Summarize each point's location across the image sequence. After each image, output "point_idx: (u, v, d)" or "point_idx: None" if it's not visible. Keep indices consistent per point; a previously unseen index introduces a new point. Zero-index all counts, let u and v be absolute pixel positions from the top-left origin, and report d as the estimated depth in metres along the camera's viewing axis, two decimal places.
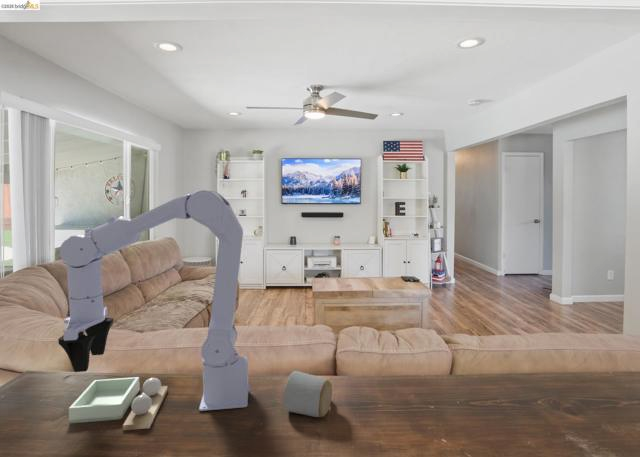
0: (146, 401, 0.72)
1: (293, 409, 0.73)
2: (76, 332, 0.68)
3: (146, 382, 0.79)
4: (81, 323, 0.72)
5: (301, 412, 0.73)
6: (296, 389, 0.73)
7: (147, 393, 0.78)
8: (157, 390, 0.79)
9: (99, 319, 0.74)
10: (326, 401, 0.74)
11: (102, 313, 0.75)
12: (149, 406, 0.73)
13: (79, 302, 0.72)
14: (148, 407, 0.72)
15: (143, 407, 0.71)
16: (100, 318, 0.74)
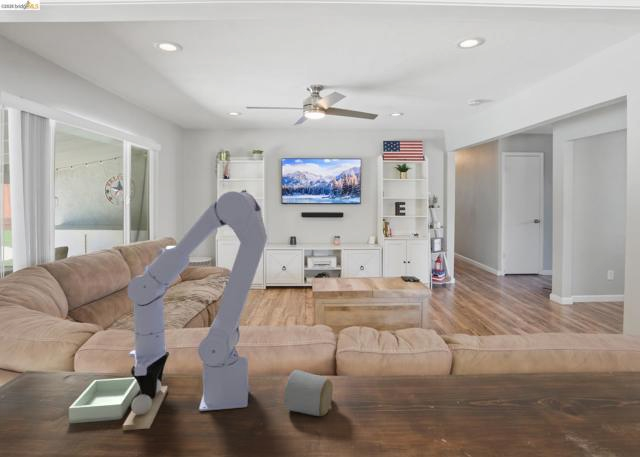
0: (146, 401, 0.72)
1: (294, 408, 0.73)
2: (145, 368, 0.73)
3: None
4: (147, 357, 0.76)
5: (302, 411, 0.73)
6: (297, 388, 0.73)
7: None
8: (157, 390, 0.79)
9: (162, 353, 0.78)
10: (327, 400, 0.74)
11: (164, 347, 0.80)
12: (149, 406, 0.73)
13: (146, 338, 0.76)
14: (148, 407, 0.72)
15: (143, 407, 0.71)
16: (163, 352, 0.79)
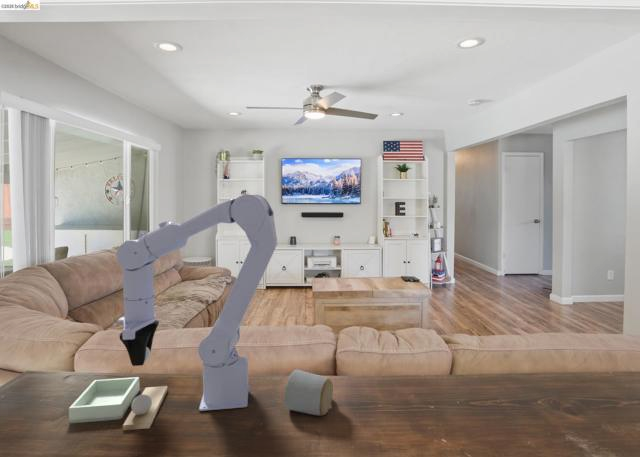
0: (146, 401, 0.72)
1: (294, 407, 0.73)
2: (134, 332, 0.72)
3: None
4: (136, 323, 0.76)
5: (302, 410, 0.73)
6: (297, 388, 0.73)
7: None
8: (146, 357, 0.78)
9: (151, 319, 0.78)
10: (327, 399, 0.74)
11: (154, 314, 0.79)
12: (149, 406, 0.73)
13: (135, 303, 0.75)
14: (148, 407, 0.72)
15: (143, 407, 0.71)
16: (152, 319, 0.78)
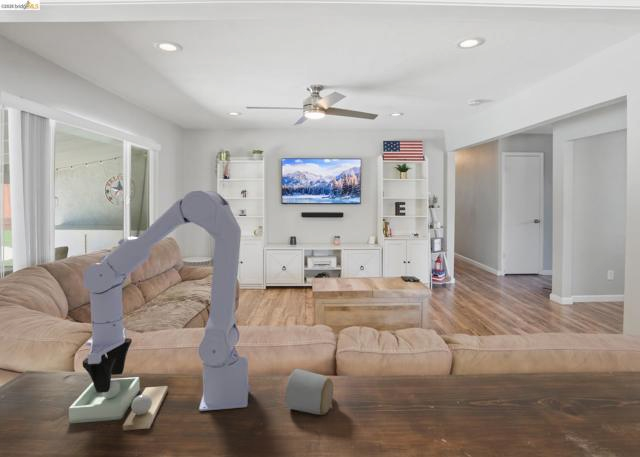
0: (146, 401, 0.72)
1: (295, 406, 0.74)
2: (99, 356, 0.72)
3: None
4: (103, 346, 0.76)
5: (303, 409, 0.74)
6: (298, 387, 0.73)
7: (105, 396, 0.78)
8: (115, 393, 0.79)
9: (120, 342, 0.78)
10: (328, 398, 0.74)
11: (122, 336, 0.79)
12: (149, 406, 0.73)
13: (102, 326, 0.76)
14: (148, 407, 0.72)
15: (143, 407, 0.71)
16: (121, 341, 0.78)
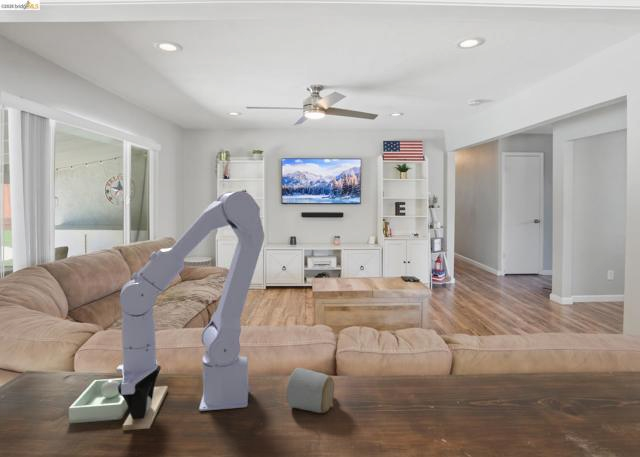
0: None
1: (296, 405, 0.74)
2: (133, 386, 0.66)
3: (104, 384, 0.79)
4: (136, 373, 0.69)
5: (304, 408, 0.74)
6: (299, 385, 0.74)
7: (105, 395, 0.78)
8: (115, 392, 0.79)
9: (153, 368, 0.71)
10: (329, 397, 0.75)
11: (155, 361, 0.73)
12: (149, 406, 0.73)
13: (134, 352, 0.69)
14: (148, 407, 0.72)
15: None
16: (154, 367, 0.72)
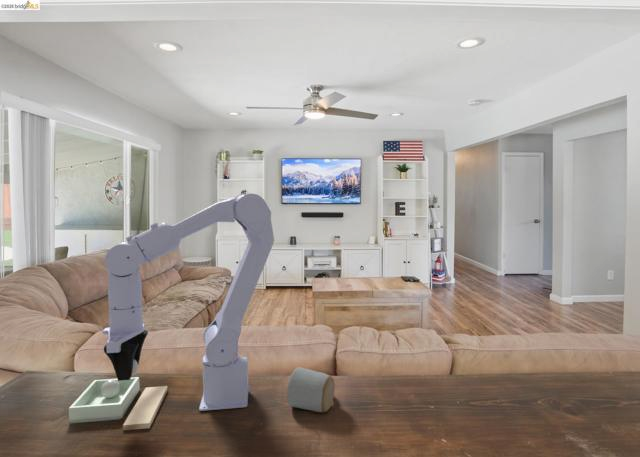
0: None
1: (296, 404, 0.75)
2: (119, 344, 0.66)
3: (104, 384, 0.79)
4: (122, 334, 0.69)
5: (304, 407, 0.74)
6: (299, 385, 0.74)
7: (105, 395, 0.78)
8: (115, 392, 0.79)
9: (139, 330, 0.72)
10: (329, 396, 0.75)
11: (142, 324, 0.73)
12: (135, 369, 0.73)
13: (121, 313, 0.69)
14: (134, 370, 0.72)
15: None
16: (140, 329, 0.72)
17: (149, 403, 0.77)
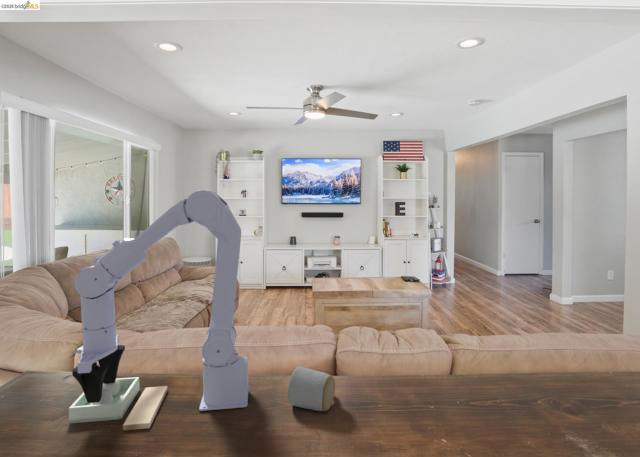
0: (106, 396, 0.75)
1: (297, 403, 0.75)
2: (90, 365, 0.68)
3: None
4: (94, 354, 0.72)
5: (305, 406, 0.75)
6: (300, 384, 0.75)
7: None
8: (116, 389, 0.79)
9: (112, 349, 0.74)
10: (329, 395, 0.76)
11: (115, 343, 0.75)
12: (110, 401, 0.75)
13: (93, 333, 0.72)
14: (108, 402, 0.75)
15: (103, 402, 0.74)
16: (113, 348, 0.74)
17: (149, 403, 0.77)
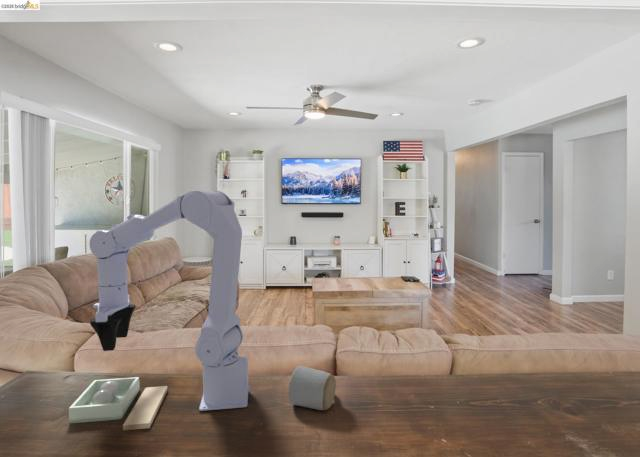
0: (106, 396, 0.75)
1: (298, 402, 0.75)
2: (106, 315, 0.78)
3: (102, 387, 0.78)
4: (109, 308, 0.81)
5: (306, 405, 0.75)
6: (301, 383, 0.75)
7: None
8: (114, 393, 0.79)
9: (124, 305, 0.84)
10: (330, 394, 0.76)
11: (127, 299, 0.85)
12: (109, 401, 0.75)
13: (108, 289, 0.81)
14: (108, 402, 0.75)
15: (102, 402, 0.74)
16: (125, 304, 0.84)
17: (149, 403, 0.77)
